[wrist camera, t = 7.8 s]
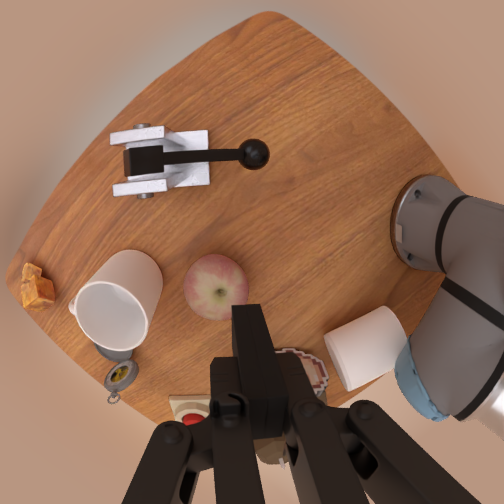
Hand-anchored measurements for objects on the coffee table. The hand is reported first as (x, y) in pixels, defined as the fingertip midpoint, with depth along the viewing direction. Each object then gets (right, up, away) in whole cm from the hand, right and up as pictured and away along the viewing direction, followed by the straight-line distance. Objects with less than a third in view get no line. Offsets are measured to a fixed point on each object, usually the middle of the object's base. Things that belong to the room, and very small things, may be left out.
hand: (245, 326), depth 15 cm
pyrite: (-31, 0, +19) cm, 36 cm away
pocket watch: (-21, -11, +24) cm, 34 cm away
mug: (-17, 0, +21) cm, 27 cm away
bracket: (-10, +15, +17) cm, 24 cm away
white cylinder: (+13, -14, +25) cm, 31 cm away
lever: (-5, +13, +10) cm, 17 cm away
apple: (-4, +1, +22) cm, 23 cm away
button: (-10, -26, +28) cm, 39 cm away
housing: (-10, -25, +30) cm, 40 cm away
